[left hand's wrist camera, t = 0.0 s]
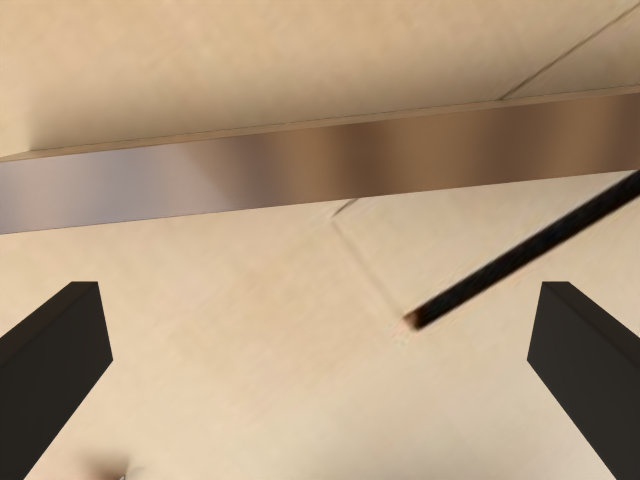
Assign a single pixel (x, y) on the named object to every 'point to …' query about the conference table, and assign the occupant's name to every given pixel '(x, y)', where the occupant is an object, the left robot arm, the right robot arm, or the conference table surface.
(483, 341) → the conference table surface
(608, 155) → the bar
